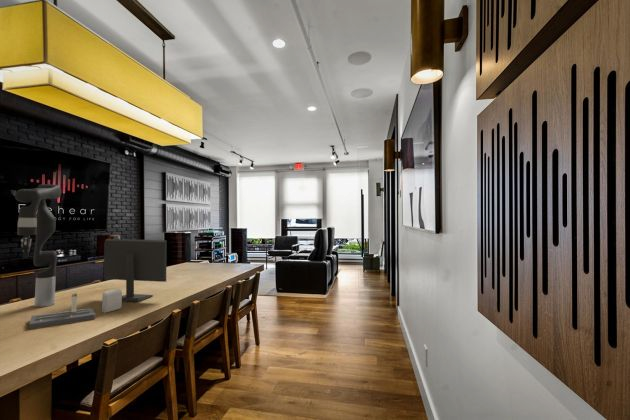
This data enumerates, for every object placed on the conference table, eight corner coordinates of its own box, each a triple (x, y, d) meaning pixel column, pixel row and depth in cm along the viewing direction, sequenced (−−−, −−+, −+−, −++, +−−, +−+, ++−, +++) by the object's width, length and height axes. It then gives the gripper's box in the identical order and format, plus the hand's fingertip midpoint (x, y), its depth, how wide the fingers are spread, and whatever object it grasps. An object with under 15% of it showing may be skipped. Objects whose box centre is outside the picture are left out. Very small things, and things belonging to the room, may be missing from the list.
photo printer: (105, 313, 175) (105, 291, 175) (100, 312, 177) (101, 290, 177) (122, 308, 184) (123, 288, 185) (118, 307, 186) (118, 287, 186)
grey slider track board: (31, 320, 161) (31, 313, 161) (92, 311, 177) (92, 305, 177) (29, 329, 148) (29, 322, 148) (94, 319, 165) (95, 312, 165)
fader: (70, 313, 166) (70, 294, 166) (77, 312, 168) (77, 293, 168) (70, 314, 163) (71, 295, 163) (77, 313, 165) (78, 294, 165)
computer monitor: (170, 297, 213) (172, 239, 214) (156, 303, 197) (158, 241, 198) (112, 294, 217) (115, 238, 219) (94, 300, 201) (96, 239, 203)
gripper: (35, 226, 163) (34, 259, 162) (37, 225, 173) (35, 256, 173) (16, 226, 158) (14, 260, 158) (19, 225, 168) (17, 257, 168)
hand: (25, 258), depth 165 cm, fingers closed
